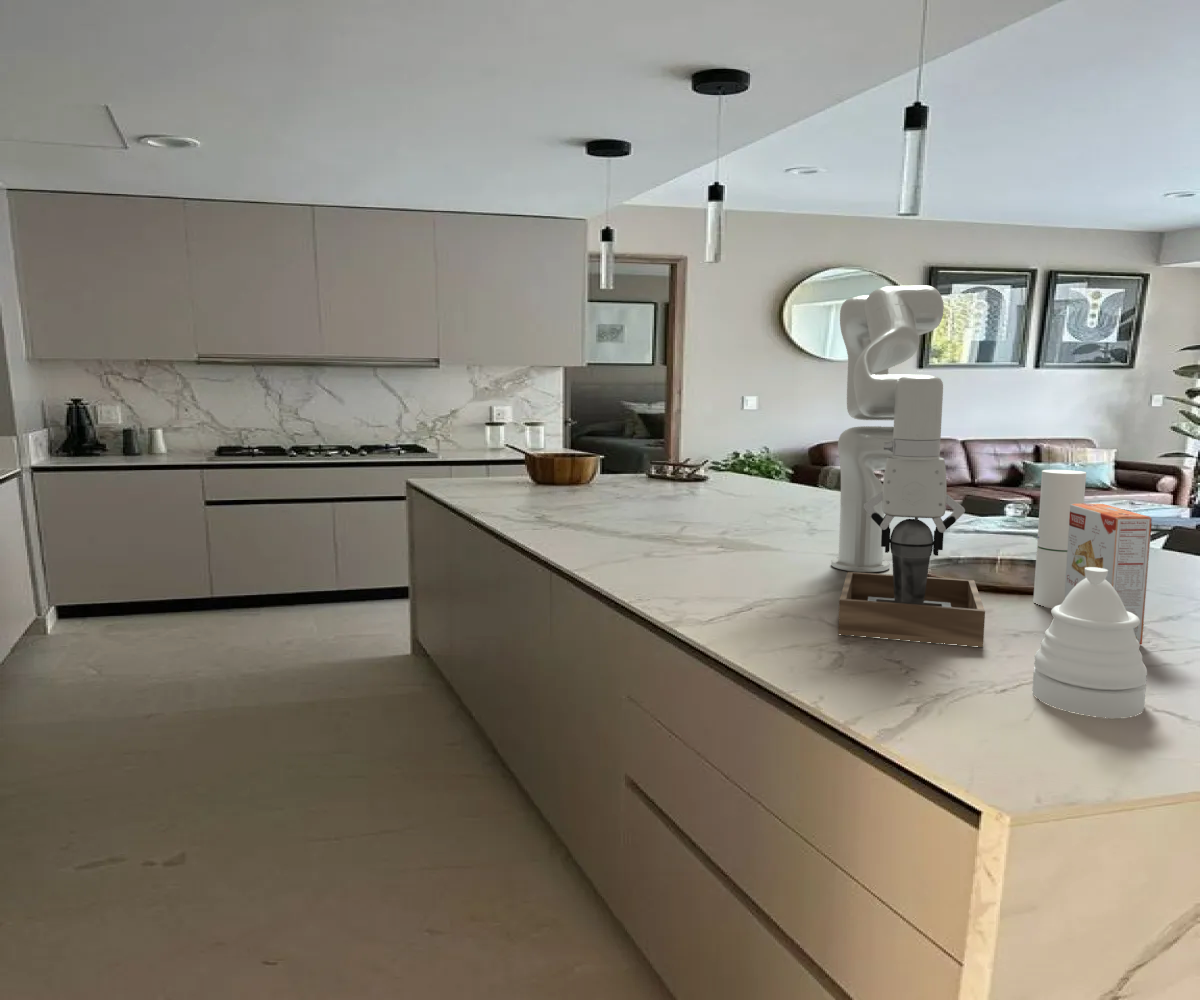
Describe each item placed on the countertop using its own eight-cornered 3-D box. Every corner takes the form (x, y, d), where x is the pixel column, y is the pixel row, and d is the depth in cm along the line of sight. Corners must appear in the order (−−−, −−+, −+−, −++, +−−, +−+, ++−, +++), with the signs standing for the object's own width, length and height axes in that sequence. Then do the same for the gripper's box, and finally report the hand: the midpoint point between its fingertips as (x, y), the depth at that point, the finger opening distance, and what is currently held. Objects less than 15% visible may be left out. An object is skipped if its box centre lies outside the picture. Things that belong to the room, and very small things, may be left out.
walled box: (846, 602, 161) (847, 571, 161) (972, 612, 154) (974, 580, 153) (838, 635, 141) (839, 600, 140) (982, 648, 134) (985, 611, 133)
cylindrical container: (1072, 600, 162) (1081, 470, 158) (1079, 610, 155) (1090, 474, 151) (1030, 598, 164) (1039, 469, 160) (1036, 607, 157) (1045, 473, 154)
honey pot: (1144, 726, 103) (1157, 582, 101) (1027, 706, 110) (1036, 570, 108) (1143, 693, 114) (1155, 562, 112) (1036, 676, 121) (1045, 552, 118)
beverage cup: (879, 602, 151) (883, 491, 148) (919, 601, 151) (924, 490, 148) (897, 614, 143) (902, 496, 140) (939, 612, 144) (944, 495, 141)
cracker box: (1059, 621, 148) (1068, 502, 145) (1095, 621, 148) (1104, 502, 145) (1104, 646, 134) (1114, 515, 132) (1143, 646, 134) (1154, 515, 131)
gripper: (861, 450, 143) (857, 553, 145) (973, 452, 137) (967, 560, 140) (863, 446, 150) (859, 545, 152) (970, 449, 144) (964, 551, 147)
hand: (911, 551), depth 146 cm, fingers closed on beverage cup, 7 cm apart
